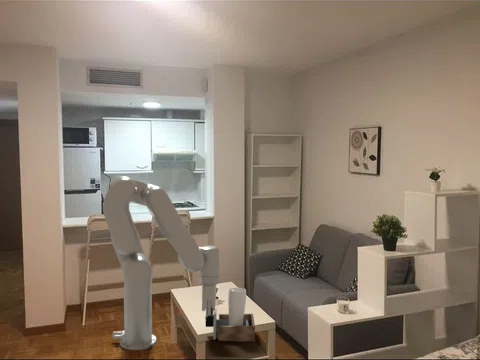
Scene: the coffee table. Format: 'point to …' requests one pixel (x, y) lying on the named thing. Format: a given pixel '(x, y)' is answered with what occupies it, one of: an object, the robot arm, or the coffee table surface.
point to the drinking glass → (236, 306)
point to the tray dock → (237, 330)
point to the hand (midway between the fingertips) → (209, 325)
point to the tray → (222, 323)
